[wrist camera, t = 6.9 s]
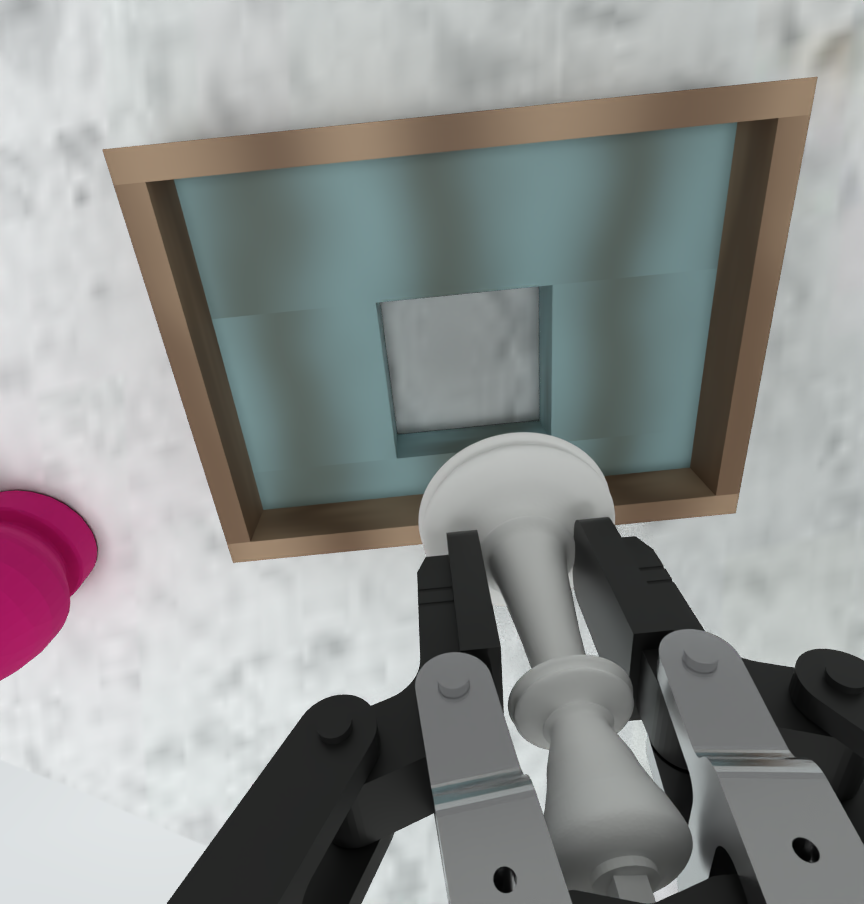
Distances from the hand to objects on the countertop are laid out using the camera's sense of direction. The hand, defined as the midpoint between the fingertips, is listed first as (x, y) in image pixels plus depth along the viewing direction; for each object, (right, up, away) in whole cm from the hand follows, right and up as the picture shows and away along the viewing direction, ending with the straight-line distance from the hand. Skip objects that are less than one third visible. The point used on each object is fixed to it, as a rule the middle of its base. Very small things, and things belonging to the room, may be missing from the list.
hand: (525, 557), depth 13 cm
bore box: (-1, +8, +12) cm, 15 cm away
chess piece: (0, +1, +2) cm, 2 cm away
